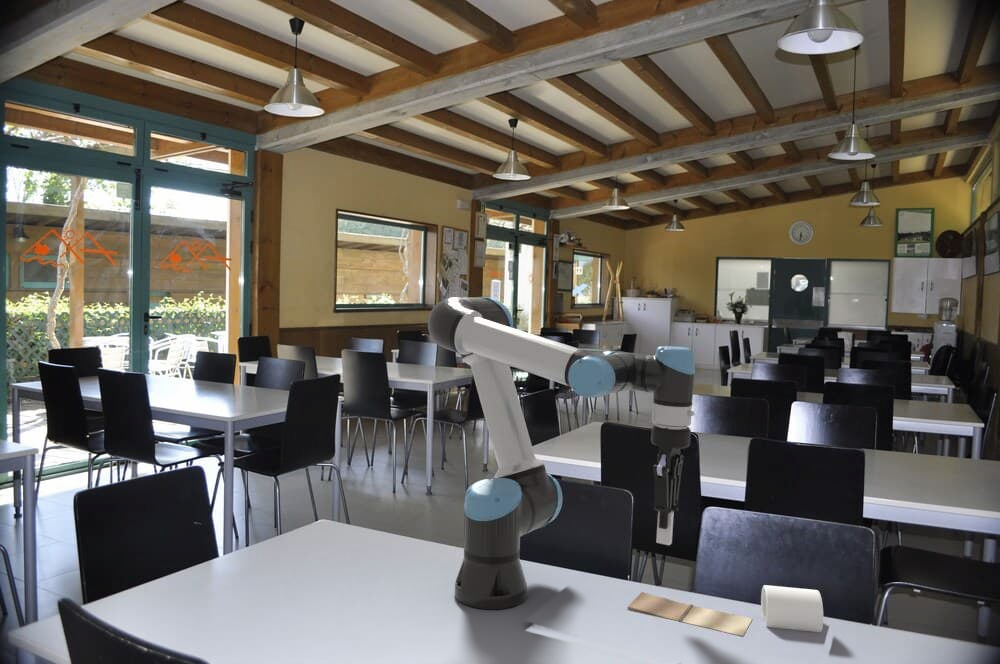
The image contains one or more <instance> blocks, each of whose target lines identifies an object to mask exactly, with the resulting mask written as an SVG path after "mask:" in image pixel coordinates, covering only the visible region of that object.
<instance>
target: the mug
mask: <svg viewBox="0 0 1000 664" xmlns="http://www.w3.org/2000/svg"><path fill="white" fill-rule="evenodd" d="M823 604H824V603H823V598H822V595H821V593H820V591H819V590H818V589H809V588H798V587H788V586H779V585H767V584H766V585H765V584H763V586H762V589H761V595H760V611H761V613H760V615H761V616H762V617H766V618H765V624H764V626H765V627H767V628H774V629H784V630H785V629H786V630H793V631H803V632H812V633H822V631H823V628H824V606H823Z"/></svg>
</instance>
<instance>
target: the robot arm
mask: <svg viewBox="0 0 1000 664" xmlns="http://www.w3.org/2000/svg"><path fill="white" fill-rule="evenodd" d="M427 328H428V333H429V335H430V337H431V339H432V340H433V341H434V342H435V343H436V344H437V345H438V346H439V347H441V348H443V349H446V350H449V351H451V352H455V353H456V354H459V355H460V357H461V361H462V362H463V363H465V364H467V365H468V366H469V367H470V368H471V372H472V376H473V380H474V383H475V387H476V391H477V394H478V397H479V402H480V405H481V408H482V412H483V416H484V419H485V423H486V424H485V425H486V427H487V430H488V433H489V437H490V441H491V445H492V448H493V452H494V456H495V459H496V462H497V463H496V464H497V467H498V468H497V471H496V473H495V474H494V476H493V477H492V478H490V479H489V478H486V479H481V480H478V481H475V482H474V483H472V484H471V485H469V487H468V488H467V489H466V492H465V499H464V503H463V512H464V524H463V525H464V526H463V527H464V532H463V534H464V535H463V536H464V537H463V559H462V562H461V564H460V568H459V571H458V573H457V577H456V578H455V579H456V580H455V582H454V597H455V598H456V600H457V601H459V602H460V603H461V604H463V605H465V606H468V607H471V608H475V609H480V610H481V609H482V610H501V609H509V608H513V607H515V606H516V607H517V606H518V605H520V604H523V603H524V602H525V601H526V599H527V597H528V583H527V580H526V577H525V573H524V570H523V566H522V564H521V560H520V553H521V549H520V548H521V547H520V546H521V537H523V536H525V535H527V534H529V533H531V532H533V531H535V530H537V529H542V528H544V527H546V526H547V525H548V524H550V523H551V522H553V521H554V520H555V519H556V518H557V516H559V513H560V511H561V509H562V505H563V492H562V491H563V490H562V488H561V485H560V483H559V481H558V480H557V479H556V478H555V477H553V476H552V474H550V473H548V472H547V469H546V467H545V463H544V461H541V460H540V459H538V458H536V456H535V452H534V449H533V445H532V440H531V438H530V435H529V431H528V428H527V424H526V423H527V422H526V421H525V416H524V414H523V409H522V406H521V403H520V399H519V395H518V392H517V388H516V384H515V382H514V377H513V374H512V371H511V367H512V368H515V369H518V370H521V371H524V372H527V373H529V374H532V375H535V376H538V377H542V378H544V379H547V380H550V381H552V382H556V383H559V384H561V385H564V386H568V387H570V388H571V389H572V391H573V392H574V393H576V394H577V395H578V396H580V397H583V398H588V399H589V398H593V399H594V398H595V399H597V398H600V397H604V396H607V395H610V394H615V393H621V392H625V391H635V392H644V393H645V392H646V393H652V394H653V400H652V401H653V402H652V413H651V422H652V423H653V425H651V431H650V432H651V434H650V442H651V444H653V445H654V446H658V448H659V451H658V454H656V464H654V465H653V466H652V472H653V483H654V485H653V486H654V507H653V511H657V525H656V526H657V527H656V539H655V540H656V541H655V542H656V543H657V544H661V545H665V546H670V545H672V544H673V528H674V514H675V513H674V511H679V506H677V505H678V503H679V493H680V486H681V478H682V476H681V475H682V471H683V470H682V469H683V463H684V461H685V457H684V455H682V454H681V449H687V448H689V447H690V446H691V435H692V430H691V428H690V426H691V424H692V417H694V416H695V411H694V410H692V409H693V399H694V386H695V385H694V384H695V374H696V369H695V368H696V366H695V363H696V359H695V357H696V356H695V355H696V354H695V351H694V350H693V349H691V348H689V347H686V346H685V347H684V346H671V345H660V346H658V347H657V348H656V351H655V354H642V353H634V352H625V351H622V350H612V351H611V350H606V351H603V352H602V353H601V354H596V353H594V352H590V351H587V350H584V349H581V348H577V347H575V346H571V345H568V344H565V343H563V342H562V343H561V342H559V341H555V340H553V339H549V338H546V337H543V336H539V335H537V334H534V333H530V332H526V331H524V330H521V329H517V328H515V327H514V321H513V317H512V314H511V312H510V310H509V308H507V306H506V305H505V304H504V303H502V302H501V301H499V300H497V299H494V298H489V297H487V296H478V297H458V296H455V297H454V296H452V297H447V298H445V299H442V300H440V301H438V303H436V304H435V305H434V306H433V308H432V309H431V311H430V313H429V315H428V318H427Z"/></svg>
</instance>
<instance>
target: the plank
mask: <svg viewBox="0 0 1000 664" xmlns="http://www.w3.org/2000/svg"><path fill="white" fill-rule="evenodd" d="M689 606H690V604H686V603H683V602H679V601H676V600H673V599H668V598H665V597H662V596H658V595H654V594H652V593H648V592H644V591H641V592H640V593H639V594H638V595H637V597H635V598H634V599H633V600H632V601H631V602H630V604H628V606H627V610H629V611H633V612H634V611H635V612H638V613H642V614H647V615H650V616H655V617H659V618H664V619H668V620H671V621H675V622H679V621H678V620H679V618H680V617H681V616H682V615H683V613H684V612H685V611H686V609H687V608H688V607H689Z"/></svg>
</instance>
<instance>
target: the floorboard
mask: <svg viewBox="0 0 1000 664" xmlns="http://www.w3.org/2000/svg"><path fill="white" fill-rule="evenodd" d="M689 605H690V606H689V607H688V608H687V609H686V611H685V612H684V613H683V615H682V616H681V617H680V618H679V620H678V621H677V622H680V623H683V624H689V625H692V626H696V627H701V628H706V629H710V630H713V631H717V632H718V631H719V632H720V633H721V632H723V633H725V634H728V635H729V634H730V635H734V636H738V637H742V638H743V637H744V636H745V634H746V633H747V632H746V631H747V630H748V628H749V626H750V625H751V622H752V621H753V619H752V618H750V617H746V616H742V615H737V614H736V615H735V614H732V613H728V612H722V611H720V610H719V611H718V610H714V609H710V608H705V607H702V606H701V607H700V606H696V605H694V604H689Z"/></svg>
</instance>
